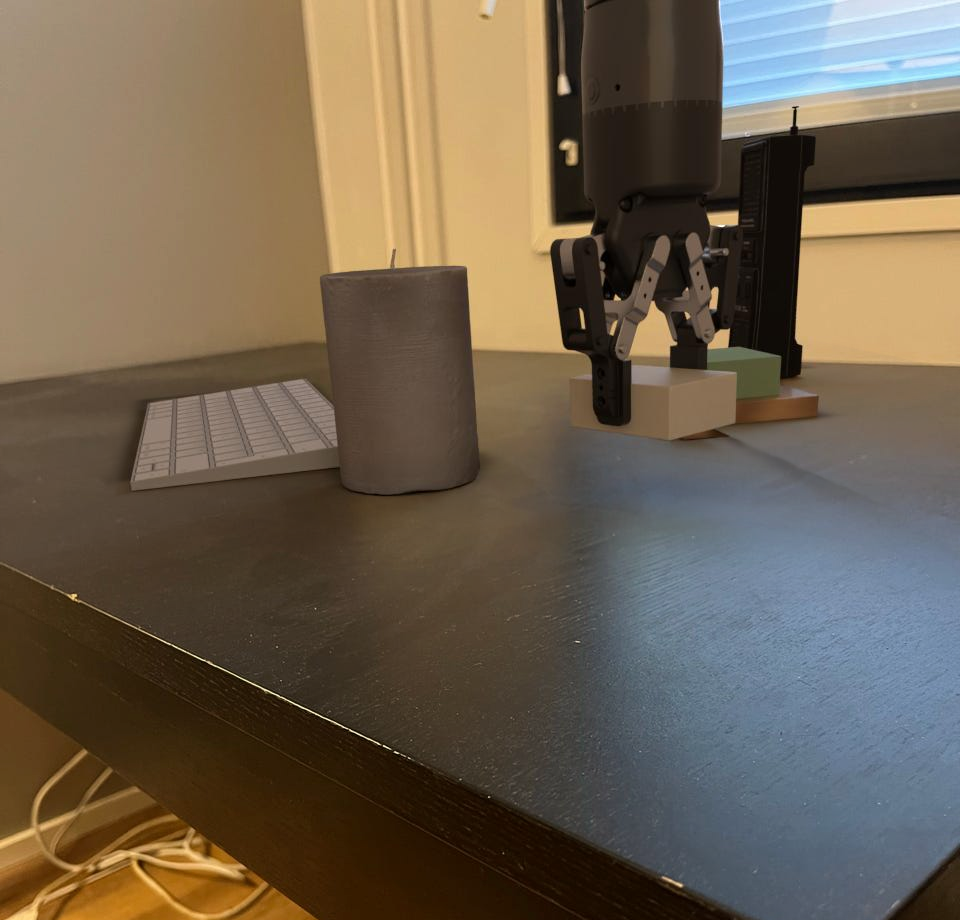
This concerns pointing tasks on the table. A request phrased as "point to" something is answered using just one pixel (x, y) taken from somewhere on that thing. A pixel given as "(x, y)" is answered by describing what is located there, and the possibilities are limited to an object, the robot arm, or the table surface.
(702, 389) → the beige block
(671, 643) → the table surface
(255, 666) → the table surface
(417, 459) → the pillar candle
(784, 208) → the portable radio
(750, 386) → the green pad
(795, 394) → the brown l-shaped block
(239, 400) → the computer keyboard
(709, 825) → the table surface
